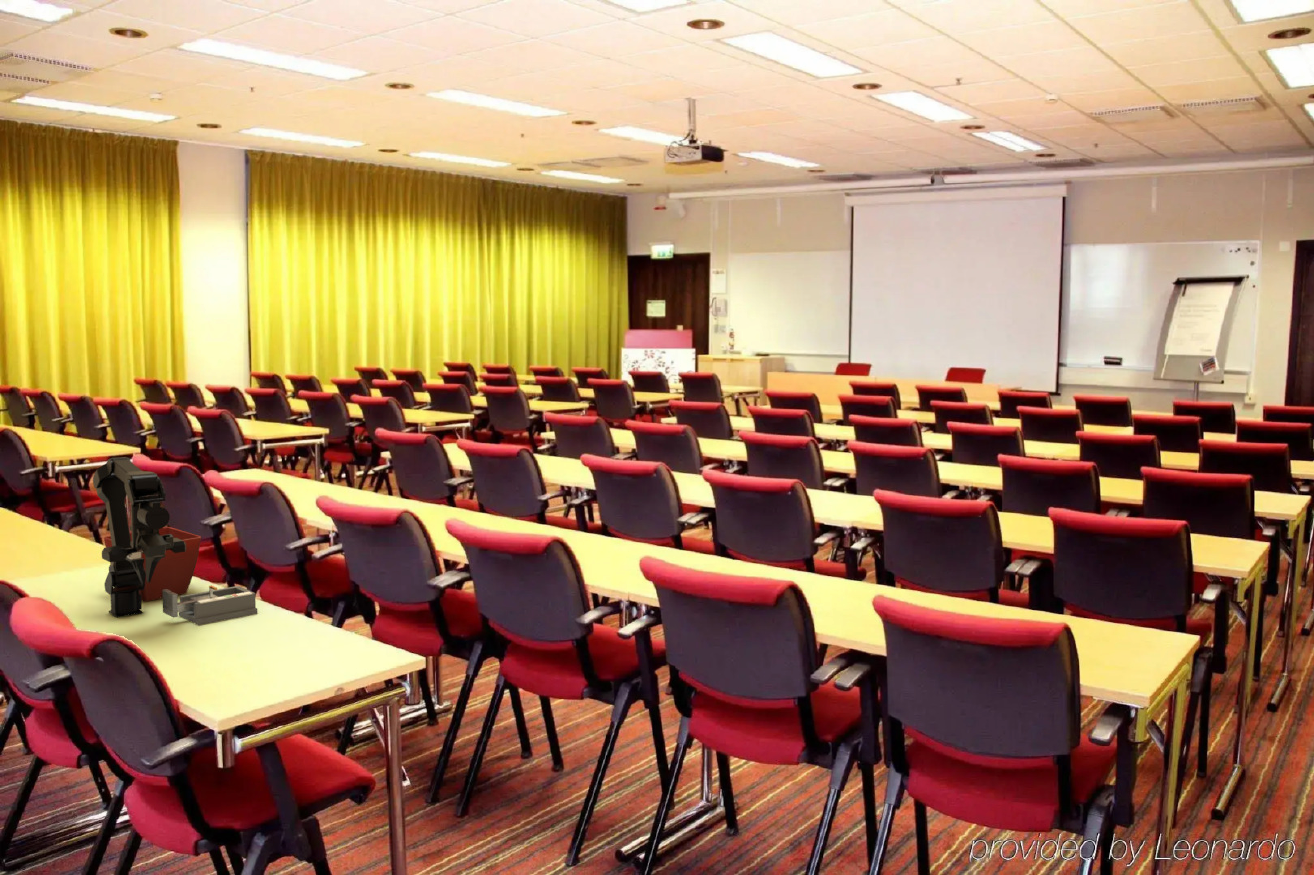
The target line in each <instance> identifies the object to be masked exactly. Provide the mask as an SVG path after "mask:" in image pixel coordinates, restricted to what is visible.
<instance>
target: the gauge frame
mask: <svg viewBox="0 0 1314 875" xmlns="http://www.w3.org/2000/svg"><path fill="white" fill-rule="evenodd" d="M213 594H214V595H216V596H218V597H217V598H211V599H206V600H200V601H197V602H198V603H194V611H192V610H188V611H183V612H178V617H180V618H183V619H184V620H187V621H189V622H191V623H193V624H194V623H195V624H194V625H197V626H203V625H208V624H211V623H218V622H222V621H224V622H225V621H228V619H229V620H233V619H238V618H243V617H247V616H254V615H258V607H256V604H257V603H256V602H257V601H256V593H255V592H254V591H251V590H249V589H247V588H244V587H242V586H240V585H235V586H230V587H224V588H219V589H218V588H217V590H213ZM203 595H209V590H207V591H202V592H201V591H200V592H196V593H190V594H185V595H184V594H183V595H179V602H184V601H190V598H192V597H198V596H203Z"/></svg>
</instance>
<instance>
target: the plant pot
mask: <svg viewBox="0 0 1314 875" xmlns="http://www.w3.org/2000/svg"><path fill="white" fill-rule="evenodd" d="M159 534H160V536H163V535H168V534H172V536H173V538H178V539H180V540H183V541H184V542H185V543H186V551H185V552H179V553H174V552H172V551H171V550H166V553H165V555H166V556H165V558H162V559H161V560H160V561H159V562H158V563H157V565H156V568H155V570H154V573H153V576H152V579H151V581H150V583H148V582H147V578H146V580H145V587H144V590H139V594H141V602H151V601H155V600H160V599H163V598H162V590H165V589H168V590H170V591H172V592H174V593H176V594H177V596H180V595H182V594H183V595H184V594H186V593H187V591H188V590H189V587H190V584H191V582H192V578H193V577H194V573H195V569H196V567H197V566H196V565H197V562H198V558H199V552H200V546H201V541H202V540H201V539H202V537H201V535H197V534H193V533H191V532H188V531H183V530H180V529H178V528H173V527H171V526H165V527H163V528H161V529H159ZM130 538H131V542H132V531H131V532H130ZM103 540H104V545H105V547H112V542H111V535H106V536H104V537H103ZM137 551H139V550H137ZM141 558H143V559H145V560H144V563H143V567H144V570H145V572H146V556H145V554H141ZM109 563H110V564H111V562H109Z"/></svg>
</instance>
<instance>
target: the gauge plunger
mask: <svg viewBox="0 0 1314 875" xmlns="http://www.w3.org/2000/svg"><path fill="white" fill-rule="evenodd" d="M208 589H209V590H208V591H209V595H203V596H198V597H192V598H190V601H184V602H180V601H179V602H178V595H177V594H176V593H174V592H172V591H170V590H168V589H165V590H162V598H161V599H162V613H164V614H165V615H167V616H169V617H172V618H173V619H174V618H178V617H179V612H183V611H188V610H192V611H194V603H198V602H197V601H200V600H206V599H211V598H217V597H218V596H216V595H214V594H213V590H218V587H216V586H214V585H209V586H208Z"/></svg>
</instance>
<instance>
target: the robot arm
mask: <svg viewBox="0 0 1314 875" xmlns="http://www.w3.org/2000/svg"><path fill="white" fill-rule="evenodd" d="M162 482H163V481H162V480H161V479H160V477H159V476H158V474H157V473H156V472H153V471H148V470H147V471H144V470H141V469H140V468H139V466H137V465H135V464H134V463H133V462H132V461H131V459H130V457H127V456H124V457H121V456H120V457H111V458H109V459H107V461H106V463H105V464H102V465H101V466H100V467H98V468H97V469H96V470H95V472H94V475H93V477H92V484H93V488H94V489H95V490H96V495H97V497H98V498H99V499H100V500H101V501H102V502H103V503H104V505H105V509H106V515H107V522H108V528H109V533H110V535H109V536H111V542H112V547H106V546H105V547H103V549H102V551H101V559H102V560H105V561H107V562H109V563H110V562H111V564H110V565H109V566H108V573H107V575H106V579H105V581H104V591H105V593H107V594H109V595H110V610H108V613H109V614H111V615H112V616H114V617H116V618H122V617H128V616H133V615H139V614H142V613H143V610H142V601H141V594H139V590H144V587H145V580H146V578H147V582H148V583H150V581H151V579H152V576H153V573H154V570H155V568H156V565H157V563H158V562H159V561H160V560H161V559H162V558H165V556H166V555H165V553H166V550H171V551H172V552H174V553H179V552H185V551H186V543H185V542H184V541H183V540H180V539H178V538H173V536H172V534H168V535H163V536H160V534H159V529H161V528H163V527H167V525H168V524H169V521H170V520H171V519H170V517H171V516H170V513H169V511H168V510H167V509H166V508H165V507H163V506H162V502H165V501H166V495H167V493H166V490H165V488H164V484H163V483H162ZM126 498H128V500H129V502H130V515H131V517H130V521H131V523H130V524H131V525H130V526H129V519H128V514H127V508H126V501H125V499H126ZM130 531H131V532H132V542H131V538H130V533H131V532H130ZM137 550H139V551H137ZM141 554H145V556H146V572H145V570H144V567H143V563H144V560H145V559H143V558H141Z"/></svg>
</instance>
